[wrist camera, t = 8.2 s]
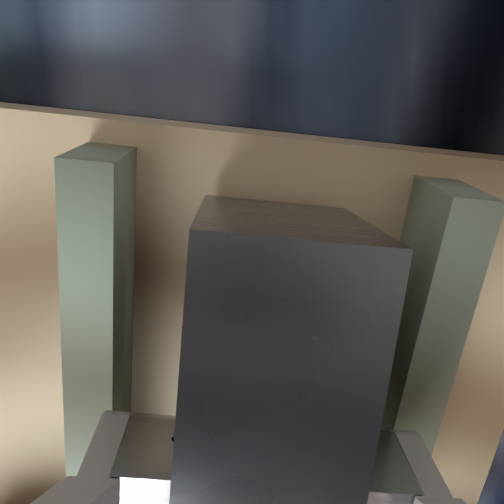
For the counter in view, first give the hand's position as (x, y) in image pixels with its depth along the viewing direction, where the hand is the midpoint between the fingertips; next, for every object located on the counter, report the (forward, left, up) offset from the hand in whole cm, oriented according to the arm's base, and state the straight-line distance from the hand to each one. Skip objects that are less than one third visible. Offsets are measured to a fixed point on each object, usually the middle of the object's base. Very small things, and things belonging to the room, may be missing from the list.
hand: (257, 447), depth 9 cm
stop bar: (-1, 0, -2) cm, 2 cm away
